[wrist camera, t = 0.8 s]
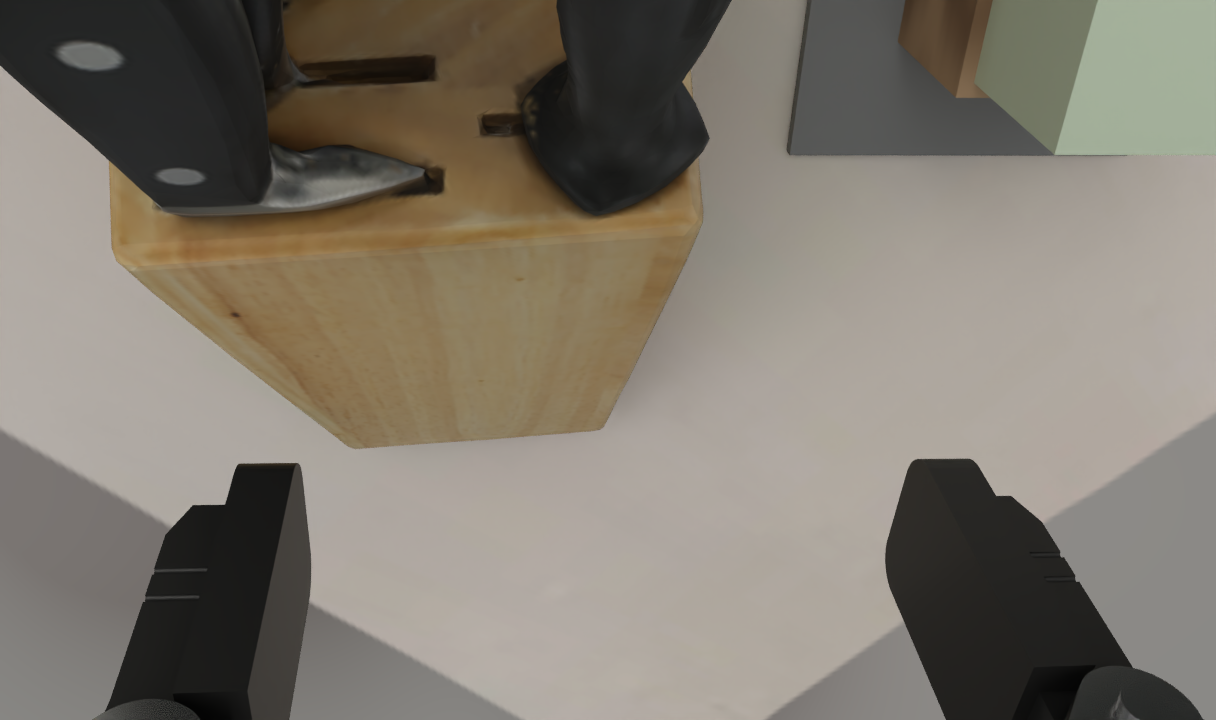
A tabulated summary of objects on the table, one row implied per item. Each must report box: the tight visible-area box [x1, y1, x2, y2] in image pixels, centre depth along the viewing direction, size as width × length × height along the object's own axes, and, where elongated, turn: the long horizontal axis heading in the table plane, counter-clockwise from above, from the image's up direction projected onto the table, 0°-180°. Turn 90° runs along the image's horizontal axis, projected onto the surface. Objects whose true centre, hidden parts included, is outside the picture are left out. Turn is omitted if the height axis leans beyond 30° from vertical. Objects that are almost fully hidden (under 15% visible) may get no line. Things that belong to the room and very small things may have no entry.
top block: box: [974, 0, 1216, 155], centre depth 32 cm, size 6×6×6 cm
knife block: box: [0, 0, 732, 449], centre depth 26 cm, size 11×35×31 cm, turn 0°
